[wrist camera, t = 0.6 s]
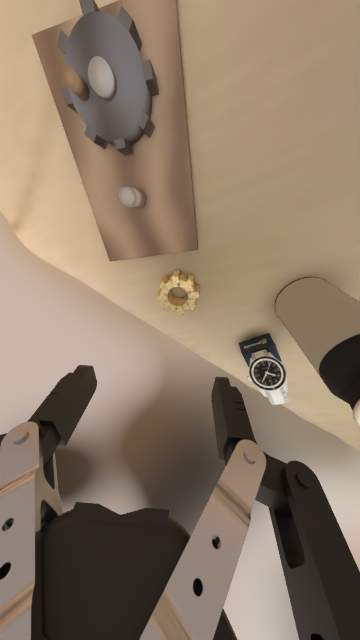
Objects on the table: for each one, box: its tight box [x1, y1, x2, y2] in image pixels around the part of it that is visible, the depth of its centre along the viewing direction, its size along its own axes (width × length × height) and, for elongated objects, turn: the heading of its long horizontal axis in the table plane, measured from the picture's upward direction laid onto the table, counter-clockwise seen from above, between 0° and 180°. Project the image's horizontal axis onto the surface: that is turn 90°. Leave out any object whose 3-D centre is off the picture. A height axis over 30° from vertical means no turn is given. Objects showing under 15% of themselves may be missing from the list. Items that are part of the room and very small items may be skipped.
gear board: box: [32, 0, 198, 261], centre depth 19 cm, size 13×20×6 cm, turn 8°
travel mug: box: [275, 278, 360, 426], centre depth 20 cm, size 8×8×18 cm
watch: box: [239, 333, 289, 405], centre depth 29 cm, size 6×8×11 cm
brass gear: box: [157, 270, 199, 315], centre depth 28 cm, size 6×6×3 cm
